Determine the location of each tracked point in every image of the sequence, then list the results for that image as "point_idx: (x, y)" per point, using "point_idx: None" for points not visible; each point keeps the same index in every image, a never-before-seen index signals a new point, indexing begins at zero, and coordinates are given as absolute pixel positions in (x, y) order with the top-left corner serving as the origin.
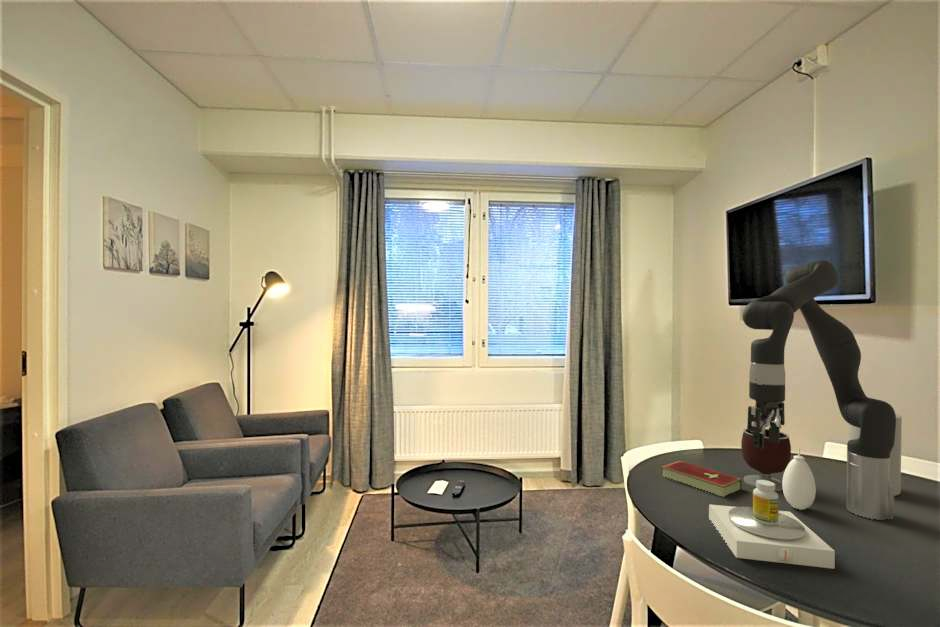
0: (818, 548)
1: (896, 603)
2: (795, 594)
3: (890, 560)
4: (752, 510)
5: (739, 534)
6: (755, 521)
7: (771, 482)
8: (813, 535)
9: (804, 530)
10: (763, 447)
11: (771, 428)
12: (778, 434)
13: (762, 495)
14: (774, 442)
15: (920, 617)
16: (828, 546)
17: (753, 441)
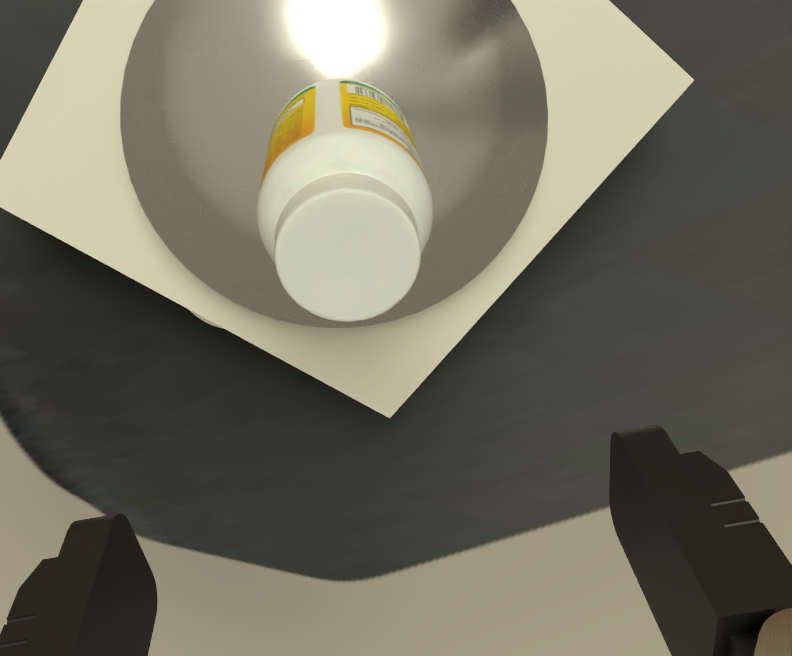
0: (344, 385)
1: (342, 530)
2: (44, 415)
3: (661, 407)
4: (414, 5)
5: (62, 155)
6: (264, 130)
7: (403, 275)
8: (465, 308)
9: (426, 305)
10: (148, 616)
11: (711, 644)
12: (668, 640)
13: (266, 246)
14: (613, 489)
15: (327, 575)
16: (409, 389)
17: (4, 630)
